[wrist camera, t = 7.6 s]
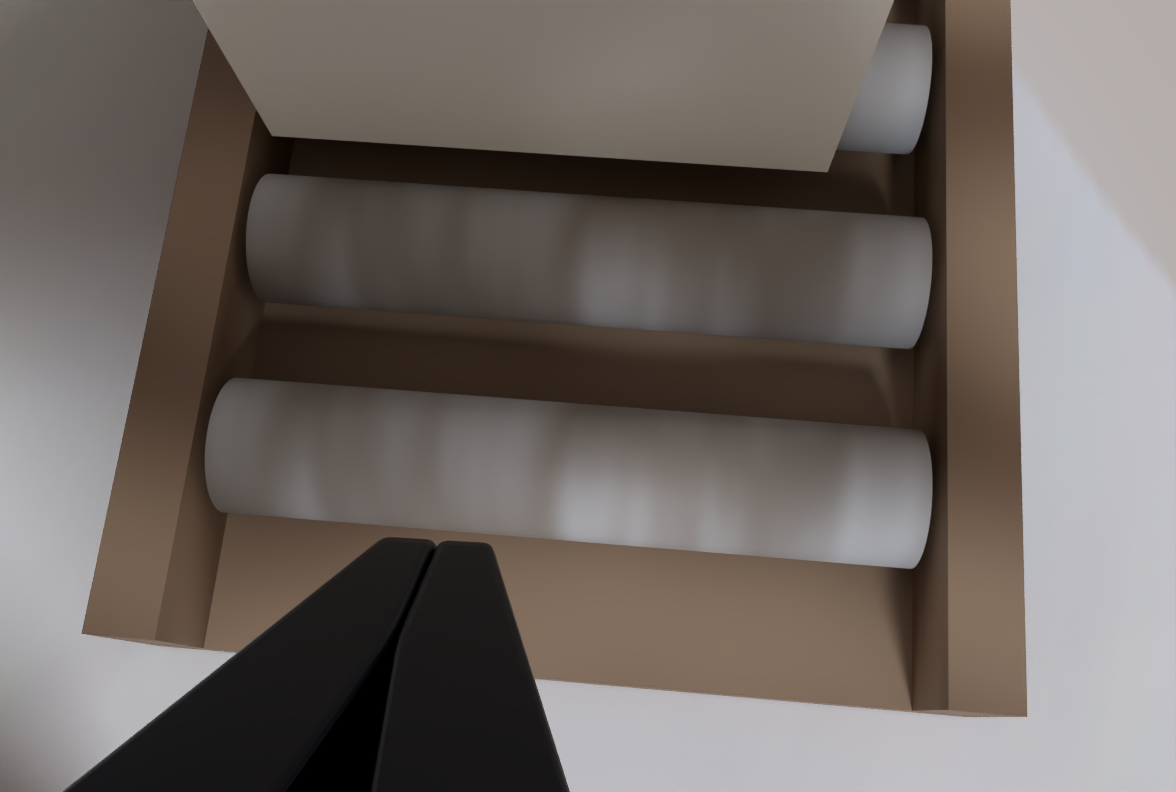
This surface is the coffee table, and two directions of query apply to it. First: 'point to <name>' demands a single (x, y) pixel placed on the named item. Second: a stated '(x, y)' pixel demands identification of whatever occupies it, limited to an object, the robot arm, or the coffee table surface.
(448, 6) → the limestone slab
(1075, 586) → the coffee table surface
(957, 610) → the roller bed
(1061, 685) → the coffee table surface
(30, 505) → the coffee table surface
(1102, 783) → the coffee table surface
